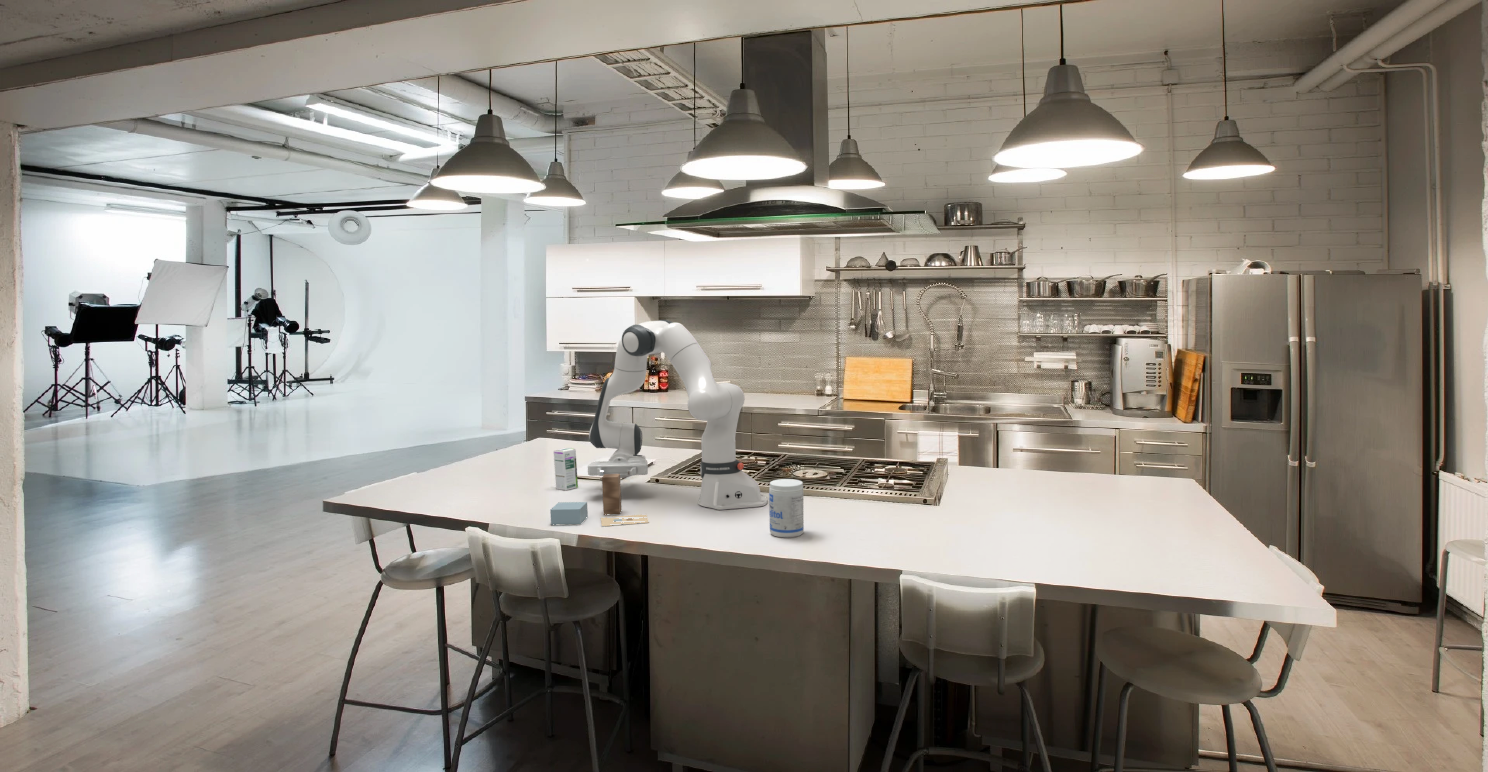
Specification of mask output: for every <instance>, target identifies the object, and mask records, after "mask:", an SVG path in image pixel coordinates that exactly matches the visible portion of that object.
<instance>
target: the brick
mask: <svg viewBox="0 0 1488 772" xmlns="http://www.w3.org/2000/svg"><path fill="white" fill-rule="evenodd" d="M588 509H589V508H588V501H576V502H575V501H568V502H567V501H565V502H564V501H563V502H562V501H561V502H560V501H559V502H557V503H556V504H555V505H554V506H553V507H551V509H550V510H549V511H550V525H551V526H557V525H556V524H581V523H582V522H583V521H584V520H585V521H586V520H587V518H589V513H588V512H589V511H588ZM586 517H587V518H586ZM585 521H584V522H585ZM584 522H583V523H584ZM583 523H582V524H583ZM553 524H554V525H553ZM582 524H581V525H582Z"/></svg>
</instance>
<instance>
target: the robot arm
mask: <svg viewBox="0 0 1488 772" xmlns="http://www.w3.org/2000/svg"><path fill="white" fill-rule="evenodd" d="M662 352H663V353H664V355H665V356H666V357H667V359H668V360H669V362H670V363H671V366H673V369H674V370H675V371H676V373H677V375H678V376H679V378H680V379H681V381H682V383H683V385H684V387H685V390H686V393H687V397H688V398H687V410H688V411H689V414H690V415H691V416H692V417H693V418H694V419H696V420H698V421H703V422H704V421H706V426H705V429H704V431H703V433H702V434H701V440H700V443H701V461H700V478H701V485H700V486H701V487H700V494H699V498H698V499H699V500H698V502H697V503H698V505H700V506H701V507H706V508H710V509H714V510H719V511H720V510H721V511H722V510H733V509H747V508H758V507H763V506H766V505H767V504H768V499H767V498H768V497H767V496H766V495H764V494H762V493H761V489H760V485H759V483H758V482H757V481H756V480H755V479H754V478H753V477H751V476H750V475H749V474H747V473H746V472H744V471H743V469H744V468H745V465H744V463H743V462H742V461H741V460H739V459H737V458H736V453H737V452H736V435H737V427H738V423H739V419H740V418H739V417H740V413H741V410H742V408H743V406H744V404H745V399H746V398H745V394H744V391H743V390H742V387H740V386H739V385H737V384H734V383H730V382H721V383H717V381H716V380H715V378H714V375H713V372H712V362H711V360H710V359H709V357H708V355H707V354H706V353H705V351H704V350H703V348H702V347H701V346H700V343H699V342H698V341H697V339H696V338H695V336H693V334H692V333H691V332H690V331H689V329H687V328H686V327H685V326H684V325H683V324H682V323H680V322H673V321H671V320H670V319H669V320H668V319H659V320H651V321H649V320H647V321H643V322H639V323H637V324H633V325H631V326H628V327H627V328H626V329H625V330H623V332H622V335H621V339H620V340H619V341H618V345H617V348H616V352H615V357H614V358H615V359H614V360H615V361H614V367H613V368H614V369H613V372H612V373H611V376H609V377H607V378H606V379H605V380H604V382H603V385H602V388H601V389H600V393H599V398H598V402H597V406H596V409H595V413H594V414H595V415H594V419H593V422H592V425H591V427H590V429H589V433H588V439H589V442H590V444H592V446H593V447H595V448H596V449H613V450H615V451H614V452H613V454H612V455H611V456H610V458H609V459H608V461H607V460H606V461H600V460H599V461H593V462H591V463H589V464H588V465H587V475H589V476H591V477H593V476H596V477H597V476H598V477H603V475H604V474H620V479H623V478H624V479H625V478H628V477H632V476H647V475H648V474H649V468H648V467H649V466H648V465H649V464H648V460H647V459H646V456H645V455H642V454H639V453H640V452H641V451H642V450H641V449H642V445H643V432H642V429H641V427H640V426H639V425H638V424H637V423H635V422H634V423H631V422H620V421H611V420H608V419H607V415H608V411H609V408H610V403H611V401H612V400H613V399H614V398H616V397H618V396H622V395H625V394H630V393H633V392H635V391H638V390H639V389H640V388H641V387H642V386H643V384H644V383H645V382H646V377H647V376H646V375H647V370H648V369H647V368H648V358H649V355H656V354H660V353H662Z"/></svg>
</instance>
